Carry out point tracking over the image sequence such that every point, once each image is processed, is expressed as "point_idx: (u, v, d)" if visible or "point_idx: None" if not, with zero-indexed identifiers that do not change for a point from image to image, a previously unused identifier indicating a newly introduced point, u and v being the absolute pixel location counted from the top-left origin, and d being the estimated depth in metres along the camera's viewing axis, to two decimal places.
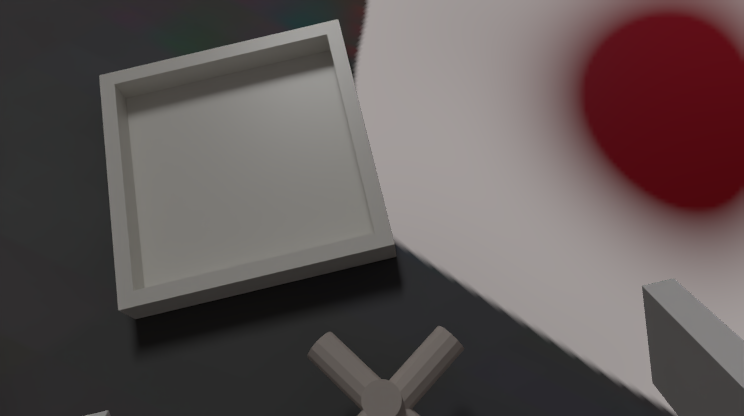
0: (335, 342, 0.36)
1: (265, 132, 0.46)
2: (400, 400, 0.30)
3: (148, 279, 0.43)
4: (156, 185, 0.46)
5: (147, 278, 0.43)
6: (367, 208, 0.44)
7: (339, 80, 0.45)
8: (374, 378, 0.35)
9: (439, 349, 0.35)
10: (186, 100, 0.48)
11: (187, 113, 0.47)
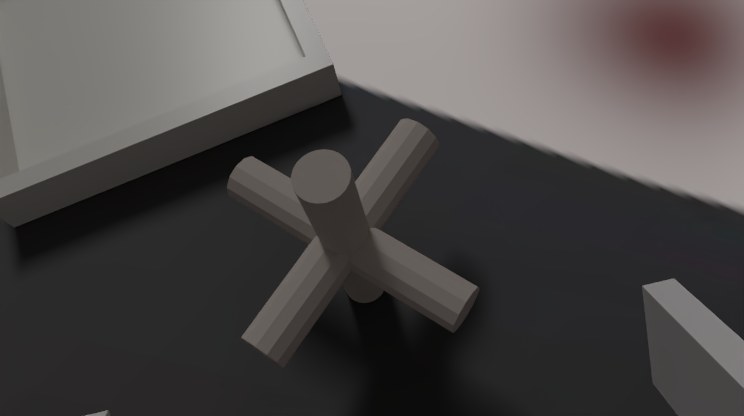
0: (262, 165, 0.26)
1: None
2: (348, 171, 0.20)
3: None
4: (29, 68, 0.36)
5: None
6: (296, 45, 0.34)
7: None
8: None
9: (404, 143, 0.25)
10: None
11: None
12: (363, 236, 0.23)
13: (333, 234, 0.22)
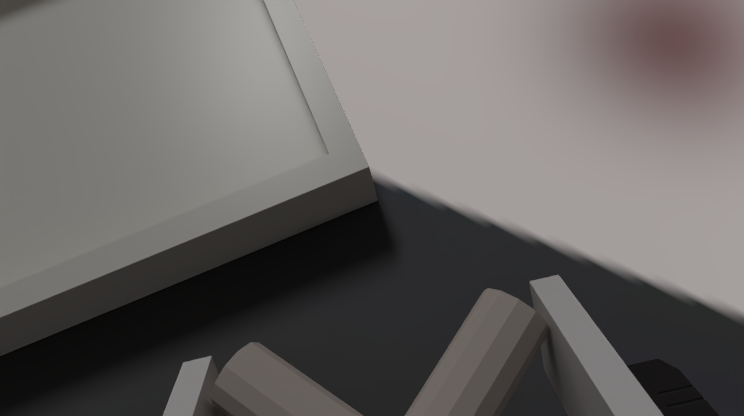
0: (266, 361, 0.16)
1: (128, 42, 0.28)
2: None
3: None
4: None
5: None
6: (314, 127, 0.25)
7: None
8: None
9: (499, 337, 0.15)
10: None
11: None
12: None
13: None
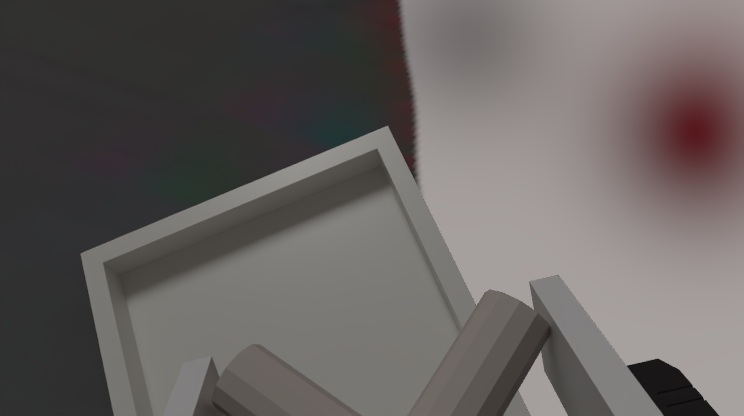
0: (268, 363, 0.16)
1: (317, 294, 0.34)
2: None
3: None
4: None
5: None
6: None
7: (408, 209, 0.33)
8: None
9: (500, 339, 0.15)
10: (202, 265, 0.35)
11: (206, 283, 0.35)
12: None
13: None
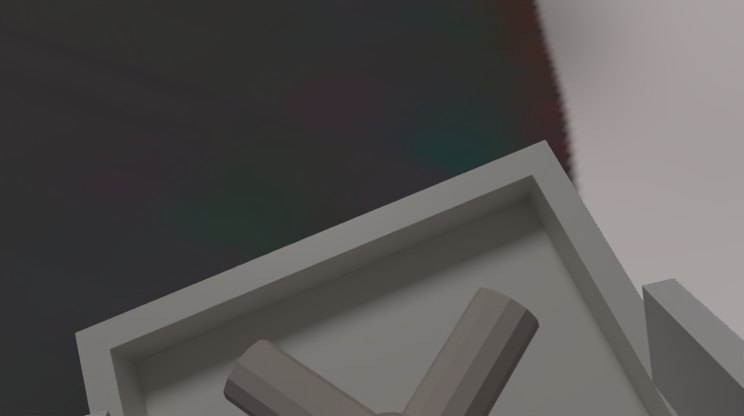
0: (276, 357, 0.17)
1: None
2: None
3: None
4: None
5: None
6: None
7: (593, 273, 0.21)
8: None
9: (492, 333, 0.17)
10: None
11: None
12: None
13: None
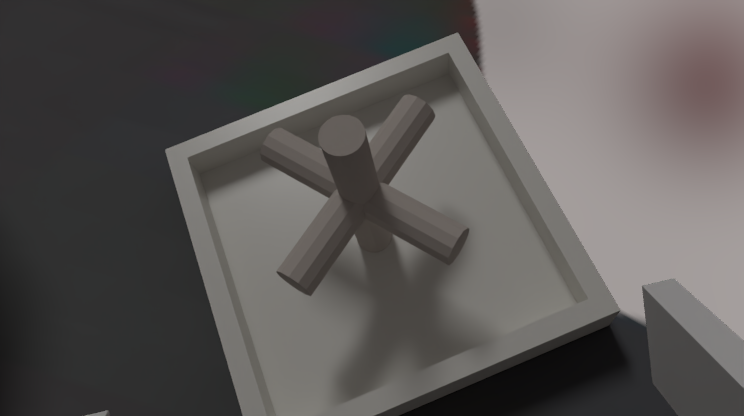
0: (289, 134, 0.31)
1: None
2: (363, 131, 0.26)
3: (281, 410, 0.31)
4: (264, 280, 0.34)
5: (279, 409, 0.31)
6: (554, 266, 0.33)
7: (481, 106, 0.35)
8: None
9: (406, 114, 0.30)
10: None
11: (284, 180, 0.37)
12: (374, 188, 0.29)
13: (351, 184, 0.27)
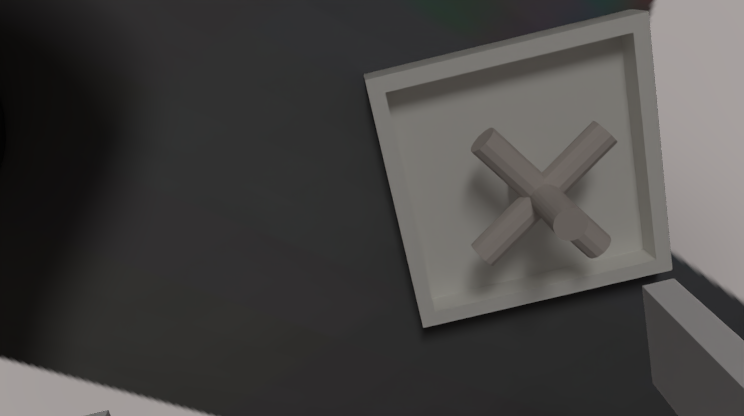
0: (500, 141, 0.38)
1: (543, 134, 0.44)
2: (586, 224, 0.35)
3: (431, 282, 0.47)
4: (430, 192, 0.44)
5: (431, 281, 0.47)
6: (639, 216, 0.46)
7: (641, 96, 0.41)
8: (535, 172, 0.38)
9: (598, 148, 0.38)
10: (454, 92, 0.42)
11: (456, 109, 0.43)
12: None
13: None
